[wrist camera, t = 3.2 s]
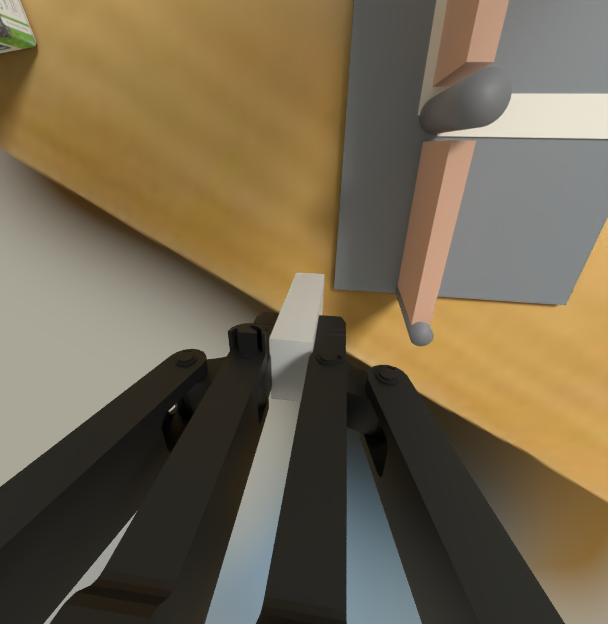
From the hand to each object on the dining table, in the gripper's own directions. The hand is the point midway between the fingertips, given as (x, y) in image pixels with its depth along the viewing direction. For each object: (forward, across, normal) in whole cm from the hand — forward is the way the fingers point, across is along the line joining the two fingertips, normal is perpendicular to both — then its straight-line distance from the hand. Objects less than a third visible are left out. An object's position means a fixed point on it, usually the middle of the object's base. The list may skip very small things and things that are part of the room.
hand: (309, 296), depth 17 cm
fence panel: (+6, +6, +3) cm, 9 cm away
